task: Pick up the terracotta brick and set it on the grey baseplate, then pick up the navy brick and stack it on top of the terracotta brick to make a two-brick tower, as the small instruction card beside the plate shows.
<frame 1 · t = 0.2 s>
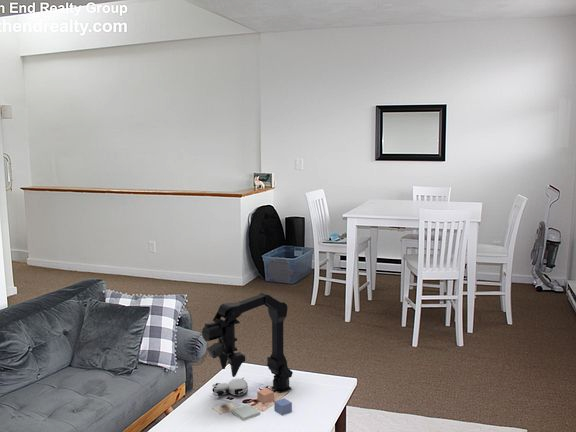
hand: (228, 372, 231), 14 cm above the table, tool pointing down, fingers open, 9 cm apart
robot toy: (230, 393, 246), on the table
grey baseplate: (246, 413, 227), on the table
navy brick: (283, 411, 229), on the table
terracotta brick: (265, 400, 239), on the table
instruction card: (225, 408, 231), on the table
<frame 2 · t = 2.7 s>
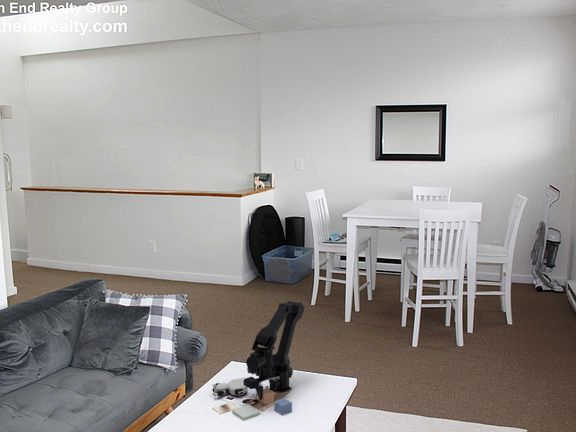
hand: (265, 398, 238), 1 cm above the table, tool pointing down, fingers closed on terracotta brick, 5 cm apart
terracotta brick: (265, 400, 239), on the table, touching gripper
everything else where it was.
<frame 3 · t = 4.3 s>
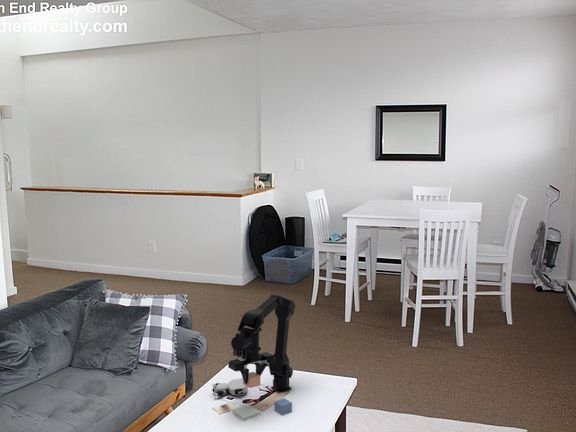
hand: (251, 382, 228), 12 cm above the table, tool pointing down, fingers closed on terracotta brick, 5 cm apart
terracotta brick: (251, 384, 228), point 11 cm above the table, touching gripper
everything else where it was.
when the fingers open (3 cm above the table, at t = 6.3 s): terracotta brick drops 1 cm, resting on grey baseplate.
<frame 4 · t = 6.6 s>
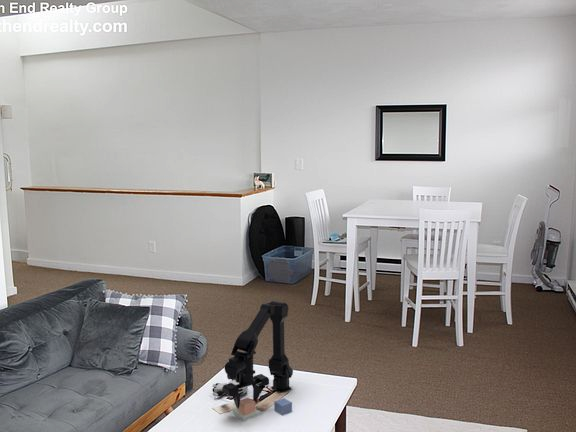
hand: (246, 405, 226), 3 cm above the table, tool pointing down, fingers open, 8 cm apart
terracotta brick: (246, 410, 227), point 1 cm above the table, touching grey baseplate
everything else where it was.
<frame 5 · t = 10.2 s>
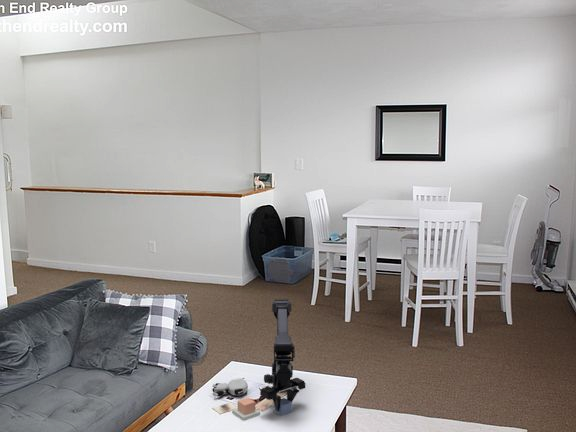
hand: (283, 408, 229), 1 cm above the table, tool pointing down, fingers closed on navy brick, 5 cm apart
navy brick: (283, 411, 229), on the table, touching gripper
everything else where it was.
when the fingers open (7 cm above the table, at t = 13.3 s): navy brick drops 1 cm, resting on terracotta brick.
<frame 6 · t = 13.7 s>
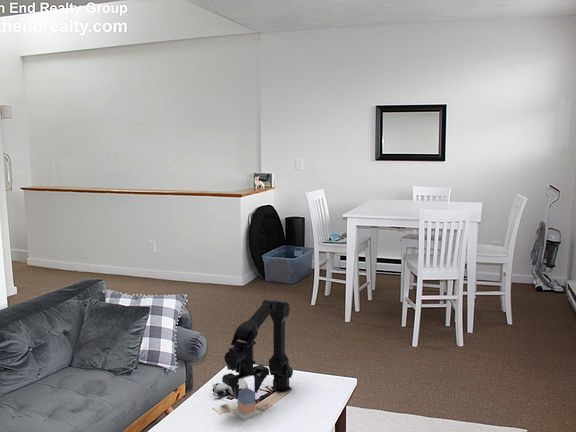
hand: (246, 395, 226), 7 cm above the table, tool pointing down, fingers open, 9 cm apart
navy brick: (246, 401, 226), point 5 cm above the table, touching terracotta brick
terracotta brick: (246, 410, 227), point 1 cm above the table, touching grey baseplate, navy brick
everything else where it was.
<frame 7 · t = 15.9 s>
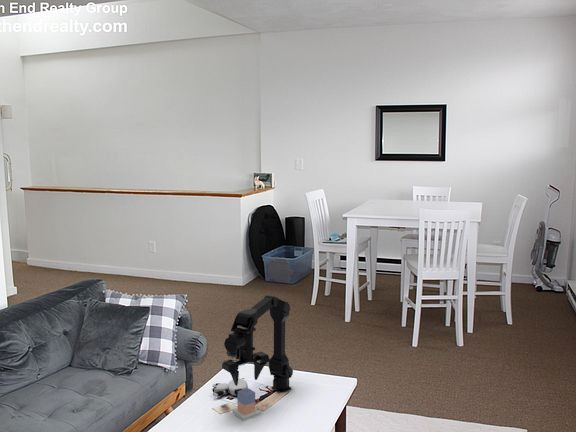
hand: (246, 382, 225), 13 cm above the table, tool pointing down, fingers open, 9 cm apart
nothing on the table moved.
at the end: terracotta brick 0.1 cm off-centre on the grey baseplate, point 1.2 cm above the grey baseplate's base; navy brick 0.1 cm off-centre on the terracotta brick, point 4.0 cm above the terracotta brick's base; navy brick tilted 0° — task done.
